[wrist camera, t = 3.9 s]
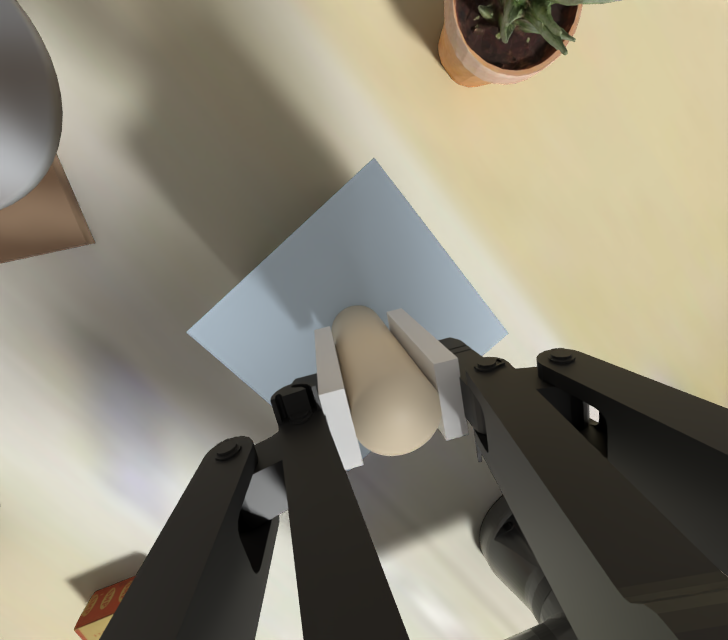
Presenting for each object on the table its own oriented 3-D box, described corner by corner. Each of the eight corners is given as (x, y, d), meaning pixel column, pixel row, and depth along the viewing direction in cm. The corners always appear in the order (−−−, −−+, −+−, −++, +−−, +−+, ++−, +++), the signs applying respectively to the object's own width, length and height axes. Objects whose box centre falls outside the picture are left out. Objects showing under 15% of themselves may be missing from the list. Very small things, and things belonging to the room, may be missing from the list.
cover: (426, 288, 35) (651, 410, 12) (331, 372, 36) (375, 636, 13) (343, 188, 31) (442, 88, 8) (240, 284, 32) (73, 432, 9)
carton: (165, 560, 40) (150, 598, 36) (228, 646, 44) (220, 689, 40) (93, 589, 39) (69, 632, 35) (164, 674, 44) (150, 720, 40)
